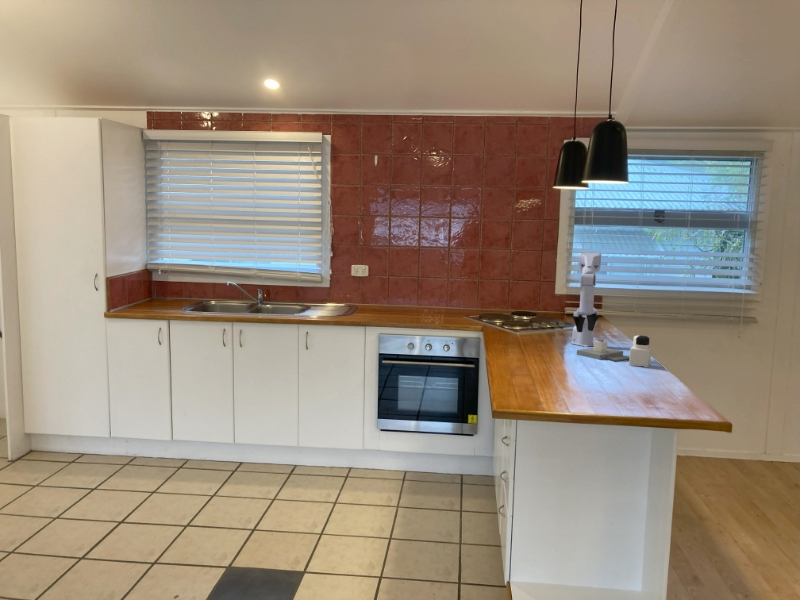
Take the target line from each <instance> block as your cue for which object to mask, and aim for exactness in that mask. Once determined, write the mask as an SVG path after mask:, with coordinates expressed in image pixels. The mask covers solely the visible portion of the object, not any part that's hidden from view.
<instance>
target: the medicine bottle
mask: <svg viewBox="0 0 800 600" xmlns="http://www.w3.org/2000/svg"><path fill="white" fill-rule="evenodd" d="M632 340H633V341H632V342H633V344H632V346H631V347H630V348H629V357H628V358H629V360H628V361H629V362H628V365H629V366H630V365H633V366H632V367H638V366H645V367H644V368H646V367H647V368H649V366H650V365H651V359H652V358H651V357H652V347H650V337H649V336H647V335H634V336H633V339H632ZM649 364H650V365H649Z"/></svg>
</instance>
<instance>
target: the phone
mask: <svg viewBox="0 0 800 600" xmlns="http://www.w3.org/2000/svg"><path fill="white" fill-rule="evenodd" d="M629 358H630V357H626V356H618V357H609V358H606V359H605V360H606V361H611V362H613V363H617V361H618V362H625V361H624V360H627V361H629Z"/></svg>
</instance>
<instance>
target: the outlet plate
mask: <svg viewBox="0 0 800 600" xmlns="http://www.w3.org/2000/svg"><path fill="white" fill-rule="evenodd" d="M593 348H594V347H588V348H581V349H577V350H576V355H578V356H581V357H587V358H591V359H595V360H600V361H601V360H604V359H605V360H606V358H609V357H618V356H622V357H624V351H623V350H619V349H613V348H609V347H607V352H605V353H599V352H594V351H593Z"/></svg>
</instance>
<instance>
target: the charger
mask: <svg viewBox="0 0 800 600" xmlns="http://www.w3.org/2000/svg"><path fill="white" fill-rule="evenodd" d="M593 344H594V346H593V347H592V348H593V351H594V352H599V353H605V352H607V348H608V341H604V339H602V338H601V339H600V338H598V339H597V340H593Z"/></svg>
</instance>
